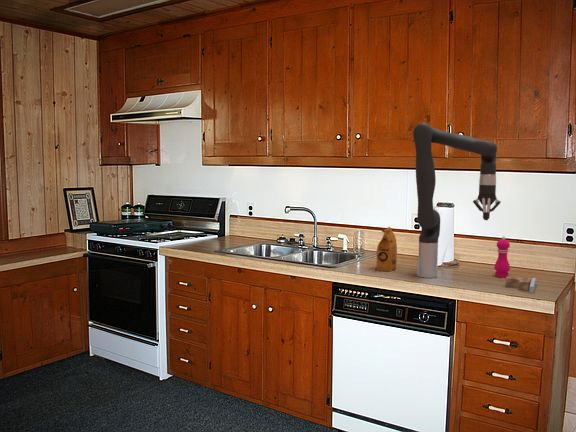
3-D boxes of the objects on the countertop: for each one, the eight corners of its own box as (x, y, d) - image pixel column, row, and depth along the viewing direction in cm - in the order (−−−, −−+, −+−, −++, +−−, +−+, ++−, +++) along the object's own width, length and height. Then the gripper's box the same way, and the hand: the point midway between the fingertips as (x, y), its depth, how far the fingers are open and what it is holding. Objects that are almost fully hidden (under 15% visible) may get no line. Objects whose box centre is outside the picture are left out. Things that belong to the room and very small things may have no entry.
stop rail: (529, 293, 244) (529, 286, 244) (532, 284, 260) (532, 277, 260) (532, 293, 243) (533, 286, 243) (535, 284, 259) (535, 278, 259)
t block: (504, 288, 252) (504, 280, 251) (507, 283, 262) (507, 274, 262) (528, 291, 247) (528, 282, 247) (530, 285, 258) (530, 277, 257)
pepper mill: (505, 274, 280) (507, 235, 278) (512, 277, 273) (513, 237, 270) (491, 274, 280) (493, 235, 277) (497, 278, 273) (499, 237, 270)
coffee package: (373, 270, 290) (373, 228, 287) (381, 266, 301) (382, 226, 298) (391, 272, 285) (392, 230, 282) (399, 268, 296) (400, 227, 293)
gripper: (471, 184, 264) (470, 220, 266) (501, 184, 258) (499, 221, 260) (474, 183, 271) (472, 218, 273) (503, 183, 265) (501, 219, 267)
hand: (486, 220), depth 266 cm, fingers closed
